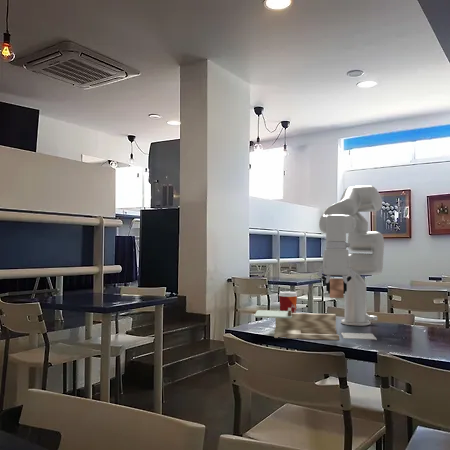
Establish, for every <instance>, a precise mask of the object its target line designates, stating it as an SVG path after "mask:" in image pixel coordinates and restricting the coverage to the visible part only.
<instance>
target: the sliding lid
mask: <svg viewBox="0 0 450 450" xmlns="http://www.w3.org/2000/svg"><path fill="white" fill-rule="evenodd" d="M254 318H259V319H260V318H261V319H262V318H264V319H268V318H269V319H275V318H291V308H288V311H280V310H270V309H269V310H268V309H265V310H263V309H258V310H256V312H255V314H254Z"/></svg>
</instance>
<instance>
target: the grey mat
mask: <svg viewBox="0 0 450 450" xmlns="http://www.w3.org/2000/svg"><path fill="white" fill-rule="evenodd" d="M340 334H341V336H342V338H343V339H346V340H347V339H349V340H350V339H351V340H353V339H354V340H375V341H377V339H378V338H377V337H376V336H375V335H374V334H373V333H366V332H365V333H363V332H362V333H361V332H359V333H356V332H341V333H340Z"/></svg>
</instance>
